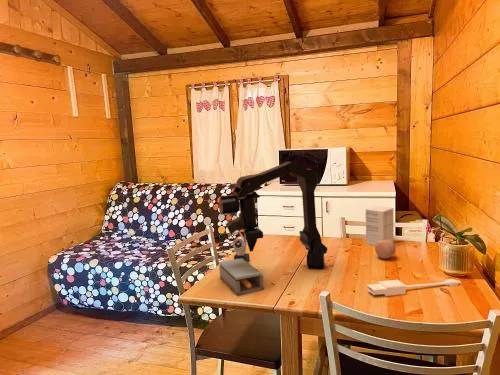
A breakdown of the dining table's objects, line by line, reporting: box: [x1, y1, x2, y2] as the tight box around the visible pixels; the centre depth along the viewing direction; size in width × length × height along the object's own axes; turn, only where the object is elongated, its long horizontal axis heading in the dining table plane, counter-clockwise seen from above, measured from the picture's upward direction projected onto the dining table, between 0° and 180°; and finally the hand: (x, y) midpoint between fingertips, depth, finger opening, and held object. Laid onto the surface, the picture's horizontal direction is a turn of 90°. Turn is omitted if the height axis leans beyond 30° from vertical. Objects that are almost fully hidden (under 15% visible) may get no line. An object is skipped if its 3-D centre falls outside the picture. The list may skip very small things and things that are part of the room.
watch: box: [232, 236, 250, 263], centre depth 154 cm, size 6×8×11 cm
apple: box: [374, 239, 396, 260], centre depth 149 cm, size 8×8×8 cm
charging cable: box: [366, 278, 462, 297], centre depth 119 cm, size 5×32×3 cm, turn 99°
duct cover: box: [218, 258, 263, 280], centre depth 131 cm, size 10×18×1 cm, turn 23°
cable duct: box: [219, 264, 265, 297], centre depth 132 cm, size 10×18×5 cm, turn 23°
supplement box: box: [365, 205, 395, 246], centre depth 168 cm, size 10×9×17 cm
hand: (251, 251), depth 134 cm, fingers closed
